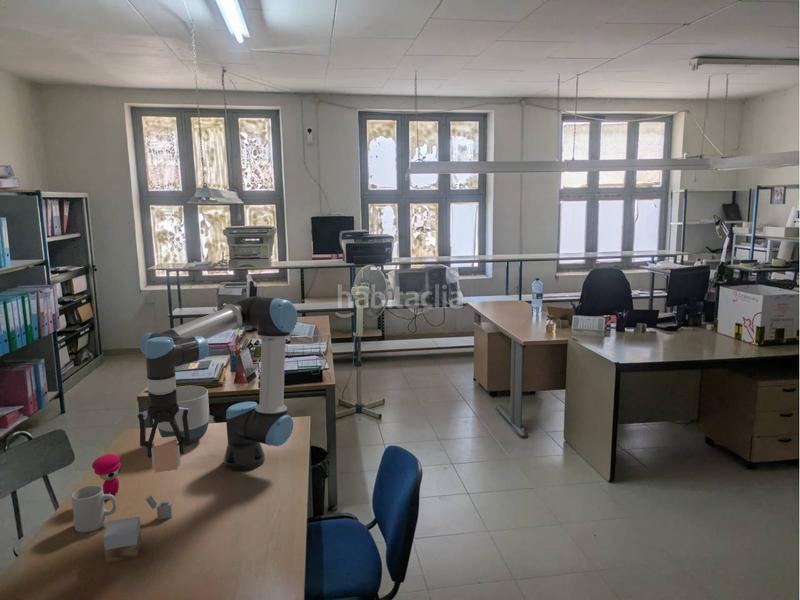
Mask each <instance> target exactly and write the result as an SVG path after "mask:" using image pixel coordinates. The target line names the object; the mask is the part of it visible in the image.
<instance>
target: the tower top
mask: <svg viewBox="0 0 800 600" xmlns="http://www.w3.org/2000/svg"><path fill="white" fill-rule="evenodd" d="M140 520H141V519H140V516H132V517H128V518H121V519H114V520H109V521H108V523H107V526H106V528H105V531H104V534H103V546H104V550H108V549H114V548H120V547H126V546H131V545H136V544H137V541H138V537H139V533H141V521H140Z"/></svg>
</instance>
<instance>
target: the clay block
mask: <svg viewBox="0 0 800 600" xmlns="http://www.w3.org/2000/svg"><path fill="white" fill-rule="evenodd" d="M177 442H178V440H177V438H176V436H172V437H163V438H162V437H156V438H154V442H153V444H154V446H153V448H154V464H155V469H154V473H161V472H170V471H177V470H178V467H179V466H178V463H177V446H176V445H177Z"/></svg>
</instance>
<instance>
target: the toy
mask: <svg viewBox="0 0 800 600" xmlns="http://www.w3.org/2000/svg"><path fill="white" fill-rule="evenodd" d="M120 459H121V458H120V456H119V455H118V454H115V453H107V454H104V455H100V456H99V457H97V458H95V460H93V463H92V464H91V467H92V469H93V470H94V474H95V475H98V476H99V478H100V479H102V480H103V481H104V482H103V484H102V488H103V493H104V494H111V495H113V496H115V495H116V494H117V493H118V492H119V488H120V481H119V478H118V476H119V474H120V471H121V464H122V463H121V462H120Z"/></svg>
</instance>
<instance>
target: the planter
mask: <svg viewBox="0 0 800 600" xmlns="http://www.w3.org/2000/svg"><path fill="white" fill-rule="evenodd" d="M175 390H176V394H177V404H178V406H179V407H181V408H185V407H188V414H187V418H188V426H189V433H190V439H189V441H188V442H185V443H184V447H186V446H191V445H192V444H193V445H194V444H195V443H197V442H198V441H200V440H201V439H202V438H203V437H204V435H206V433H207V430H208V427H209V419H210V412H209V411H210V407H209V403H210V402H209V391H208V389H207V388H206V387H204V386H199V385H183V386H176V388H175ZM175 420H176V422H177V425H178V427H179V429H180V432H181V434H182V436H183V437H185V435H184V428H183V420H182V415H180V412H179V411H178V412H177V414H176V415H175ZM157 430H158V432H159V434H160V438H163V437H172V436H175V433H174V431H173V429H172V426H171V425H170V423H169V422H161V423H158V425H157Z"/></svg>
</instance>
